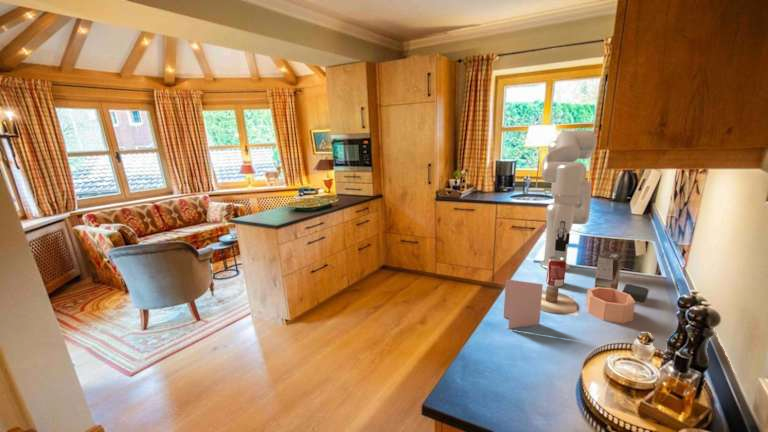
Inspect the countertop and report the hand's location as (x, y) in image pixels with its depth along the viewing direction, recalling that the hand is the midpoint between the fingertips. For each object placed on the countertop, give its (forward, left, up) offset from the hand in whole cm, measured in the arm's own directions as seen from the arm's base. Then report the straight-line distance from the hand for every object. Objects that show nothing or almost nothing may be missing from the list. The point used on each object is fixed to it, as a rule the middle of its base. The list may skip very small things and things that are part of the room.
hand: (562, 247), depth 117 cm
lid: (-2, -1, -23) cm, 23 cm away
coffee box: (-18, +20, -24) cm, 36 cm away
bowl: (0, +17, -23) cm, 29 cm away
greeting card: (+18, -12, -24) cm, 32 cm away
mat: (-2, -1, -23) cm, 24 cm away
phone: (-21, +30, -24) cm, 44 cm away
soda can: (-20, +2, -24) cm, 31 cm away
